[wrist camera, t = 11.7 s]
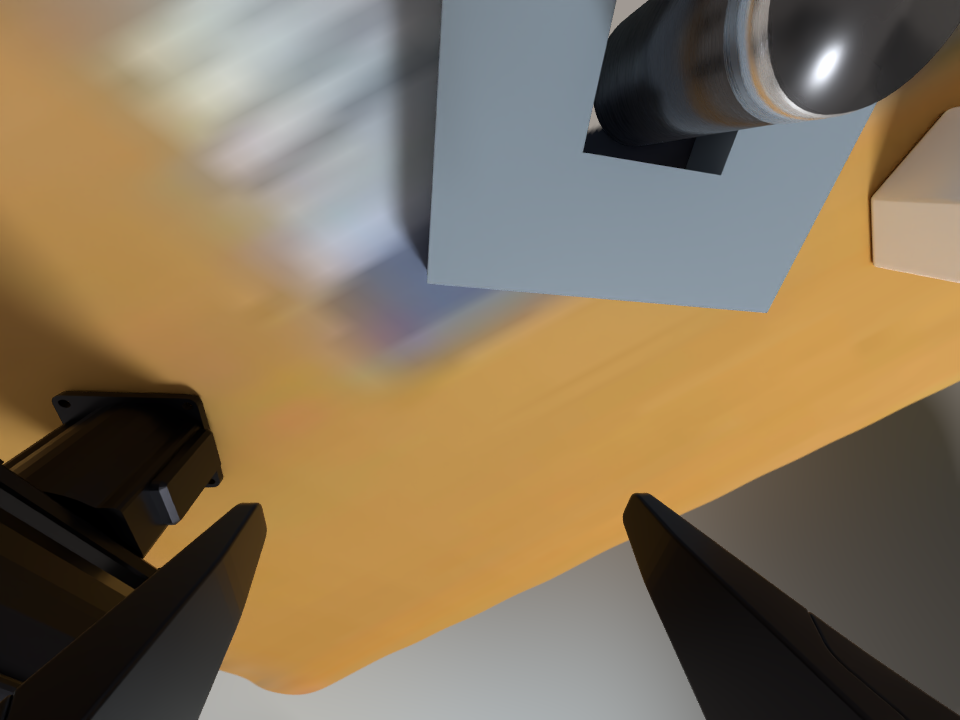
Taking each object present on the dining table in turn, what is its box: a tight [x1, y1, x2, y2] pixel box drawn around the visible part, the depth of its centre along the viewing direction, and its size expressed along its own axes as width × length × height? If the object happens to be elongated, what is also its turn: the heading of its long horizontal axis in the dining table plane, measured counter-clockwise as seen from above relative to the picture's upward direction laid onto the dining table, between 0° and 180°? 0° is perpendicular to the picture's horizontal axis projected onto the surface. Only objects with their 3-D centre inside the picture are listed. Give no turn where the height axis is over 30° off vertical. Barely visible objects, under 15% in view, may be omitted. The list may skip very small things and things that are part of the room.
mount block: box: [427, 0, 877, 313], centre depth 14 cm, size 18×18×2 cm
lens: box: [594, 0, 960, 146], centre depth 11 cm, size 5×5×9 cm
